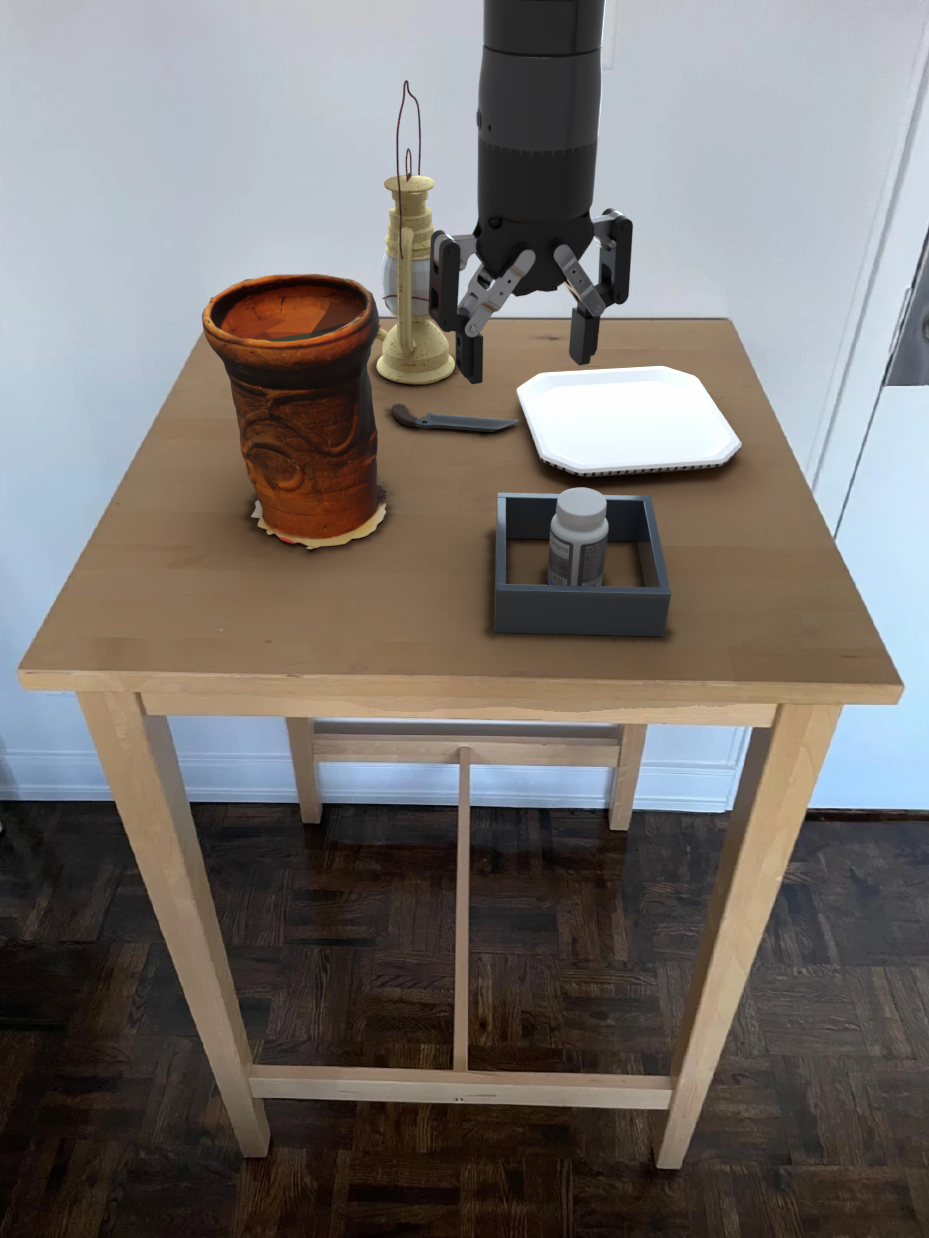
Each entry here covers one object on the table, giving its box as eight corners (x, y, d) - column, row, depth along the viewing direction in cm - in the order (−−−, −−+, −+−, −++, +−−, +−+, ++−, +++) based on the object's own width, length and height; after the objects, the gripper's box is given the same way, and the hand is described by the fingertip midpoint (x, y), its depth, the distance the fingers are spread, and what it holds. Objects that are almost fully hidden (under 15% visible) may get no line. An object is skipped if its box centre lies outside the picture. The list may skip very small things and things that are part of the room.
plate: (545, 492, 91) (546, 473, 90) (510, 391, 107) (511, 373, 105) (750, 478, 93) (754, 458, 92) (686, 381, 109) (690, 363, 107)
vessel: (207, 530, 87) (161, 321, 73) (290, 455, 96) (263, 259, 83) (344, 570, 82) (321, 356, 69) (416, 487, 92) (409, 285, 79)
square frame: (644, 536, 86) (651, 495, 83) (663, 637, 76) (671, 594, 73) (495, 533, 86) (497, 492, 83) (494, 632, 76) (495, 589, 73)
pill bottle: (601, 566, 83) (611, 486, 77) (602, 601, 79) (612, 519, 74) (547, 563, 83) (553, 482, 78) (545, 597, 80) (551, 515, 74)
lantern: (384, 341, 116) (368, 64, 97) (462, 347, 115) (463, 68, 95) (360, 387, 107) (338, 92, 88) (445, 394, 106) (442, 96, 86)
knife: (385, 426, 101) (385, 420, 100) (393, 408, 104) (393, 402, 103) (516, 436, 99) (516, 431, 99) (520, 418, 102) (520, 412, 101)
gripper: (451, 157, 54) (453, 410, 65) (669, 133, 58) (637, 376, 68) (410, 124, 59) (418, 364, 70) (612, 104, 63) (591, 334, 74)
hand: (527, 370), depth 69 cm, fingers open, 8 cm apart
